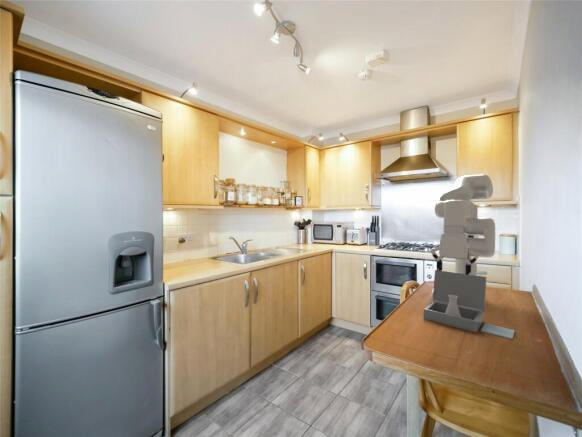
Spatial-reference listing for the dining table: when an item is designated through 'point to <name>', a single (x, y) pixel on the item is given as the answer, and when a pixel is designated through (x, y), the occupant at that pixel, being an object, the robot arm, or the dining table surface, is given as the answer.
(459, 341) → the dining table surface
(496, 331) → the mat
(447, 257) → the robot arm
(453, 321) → the case
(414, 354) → the dining table surface
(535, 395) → the dining table surface
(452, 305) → the flask
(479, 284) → the lid and stay
